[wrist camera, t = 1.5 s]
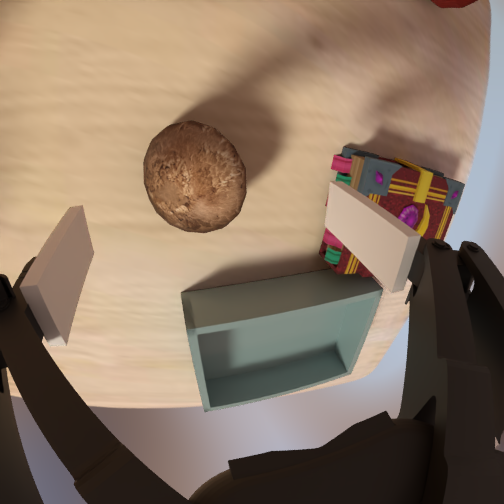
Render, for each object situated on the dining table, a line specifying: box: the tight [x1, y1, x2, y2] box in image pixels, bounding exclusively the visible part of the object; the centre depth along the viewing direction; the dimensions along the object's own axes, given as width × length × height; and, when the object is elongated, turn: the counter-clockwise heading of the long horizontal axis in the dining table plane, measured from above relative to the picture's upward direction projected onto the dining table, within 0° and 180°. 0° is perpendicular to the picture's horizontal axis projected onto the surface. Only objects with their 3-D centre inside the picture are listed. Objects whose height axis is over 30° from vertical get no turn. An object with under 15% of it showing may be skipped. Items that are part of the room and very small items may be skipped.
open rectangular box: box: [181, 268, 383, 412], centre depth 32 cm, size 20×15×5 cm
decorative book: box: [319, 147, 465, 277], centre depth 28 cm, size 11×16×5 cm
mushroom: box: [143, 121, 247, 233], centre depth 20 cm, size 8×8×6 cm
